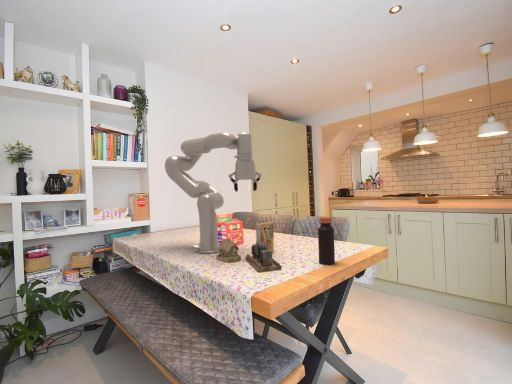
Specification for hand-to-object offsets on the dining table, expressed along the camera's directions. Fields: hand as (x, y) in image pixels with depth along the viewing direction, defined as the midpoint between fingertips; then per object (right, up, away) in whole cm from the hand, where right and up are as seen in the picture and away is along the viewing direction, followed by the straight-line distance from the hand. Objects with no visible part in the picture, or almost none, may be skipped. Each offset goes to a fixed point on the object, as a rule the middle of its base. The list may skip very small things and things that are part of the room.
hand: (245, 191), depth 139 cm
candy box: (+10, -32, +2) cm, 34 cm away
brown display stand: (+8, -33, -19) cm, 39 cm away
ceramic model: (-8, -33, -8) cm, 35 cm away
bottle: (+36, -32, -20) cm, 52 cm away
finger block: (+8, -31, -19) cm, 37 cm away
